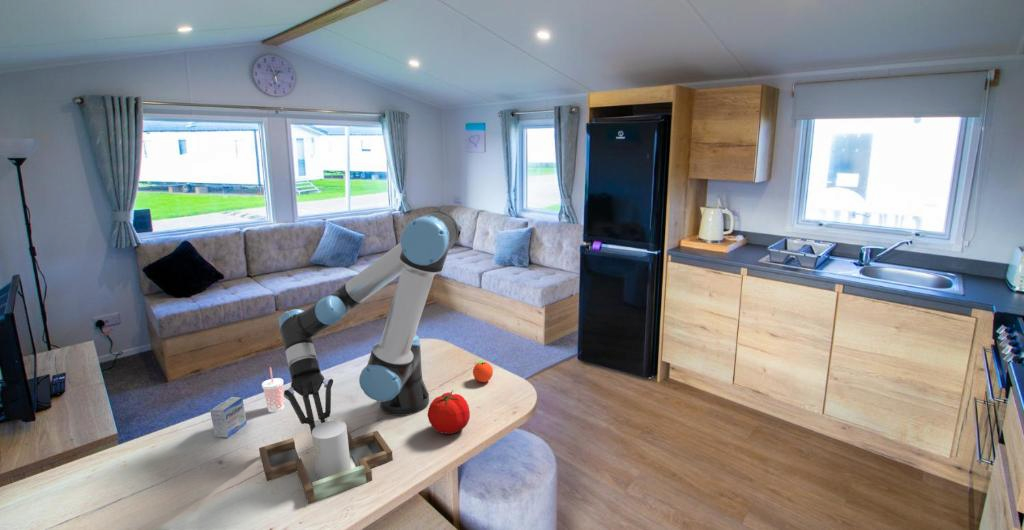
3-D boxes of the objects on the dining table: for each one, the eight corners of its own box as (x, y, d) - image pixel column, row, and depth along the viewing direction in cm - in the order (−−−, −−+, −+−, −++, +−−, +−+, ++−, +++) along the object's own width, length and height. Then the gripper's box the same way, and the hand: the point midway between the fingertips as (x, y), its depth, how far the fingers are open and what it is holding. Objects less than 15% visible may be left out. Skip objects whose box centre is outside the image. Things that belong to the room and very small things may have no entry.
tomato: (468, 417, 153) (467, 383, 150) (472, 439, 142) (470, 402, 139) (428, 422, 151) (426, 387, 148) (428, 444, 140) (426, 407, 137)
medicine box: (227, 438, 144) (223, 411, 142) (214, 437, 145) (209, 409, 143) (247, 423, 152) (243, 397, 150) (234, 422, 153) (229, 396, 151)
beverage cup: (276, 414, 156) (270, 372, 153) (260, 411, 158) (254, 370, 155) (291, 405, 162) (285, 364, 159) (275, 402, 164) (270, 362, 161)
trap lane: (367, 423, 151) (366, 411, 150) (399, 470, 129) (398, 456, 128) (260, 456, 136) (258, 442, 135) (275, 515, 114) (273, 500, 113)
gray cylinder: (320, 463, 132) (315, 422, 129) (352, 460, 133) (348, 418, 131) (314, 484, 124) (308, 440, 121) (348, 479, 126) (344, 436, 123)
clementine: (467, 380, 177) (466, 361, 175) (482, 373, 181) (481, 355, 180) (481, 387, 171) (481, 368, 170) (497, 381, 176) (496, 362, 174)
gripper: (326, 362, 147) (346, 441, 138) (277, 373, 141) (295, 457, 131) (328, 351, 142) (349, 433, 132) (277, 363, 135) (296, 449, 125)
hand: (322, 445), depth 131 cm, fingers closed
